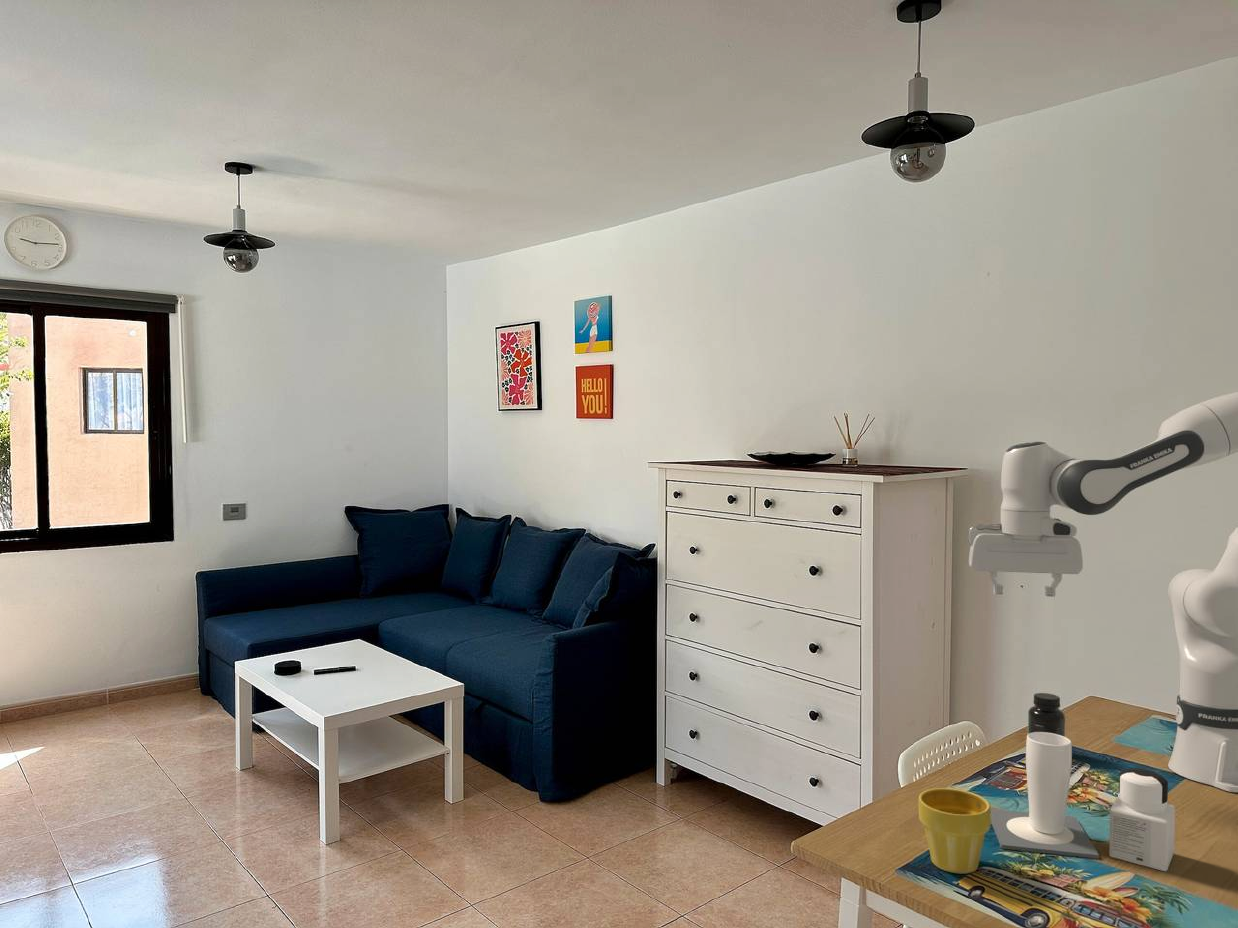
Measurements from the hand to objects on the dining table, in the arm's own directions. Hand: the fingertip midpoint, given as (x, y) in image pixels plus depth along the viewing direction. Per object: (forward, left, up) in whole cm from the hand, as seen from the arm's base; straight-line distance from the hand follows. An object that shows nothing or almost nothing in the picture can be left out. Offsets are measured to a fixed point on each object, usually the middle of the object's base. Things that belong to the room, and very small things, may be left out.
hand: (1023, 595), depth 172 cm
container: (-11, +35, -34) cm, 50 cm away
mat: (+3, +31, -34) cm, 46 cm away
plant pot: (+18, +45, -34) cm, 59 cm away
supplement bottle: (-6, -9, -34) cm, 36 cm away
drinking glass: (+2, +30, -34) cm, 45 cm away
